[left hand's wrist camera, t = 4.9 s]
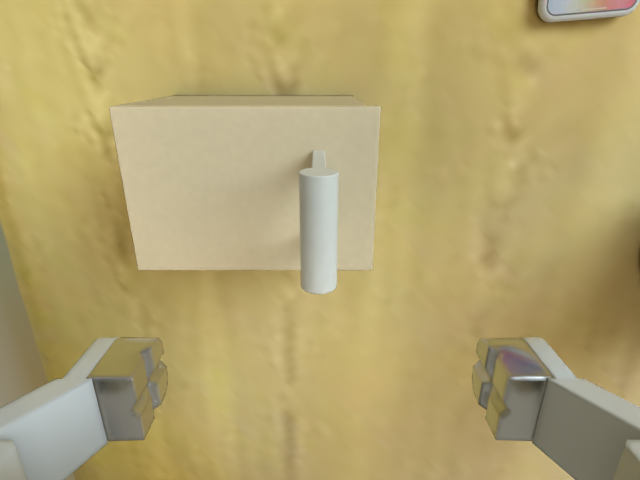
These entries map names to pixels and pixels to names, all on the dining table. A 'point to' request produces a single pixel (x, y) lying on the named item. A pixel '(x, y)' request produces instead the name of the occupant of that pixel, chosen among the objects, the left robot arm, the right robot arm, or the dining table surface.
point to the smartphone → (584, 9)
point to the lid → (251, 187)
